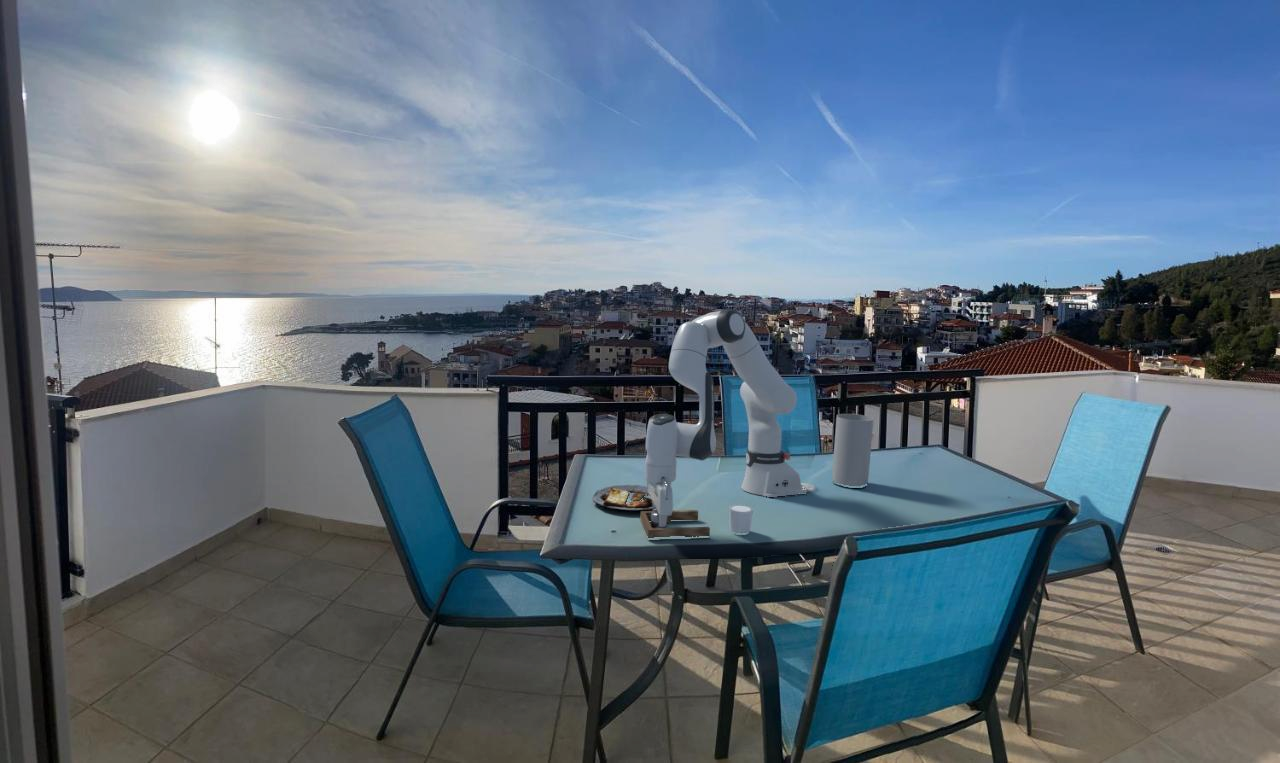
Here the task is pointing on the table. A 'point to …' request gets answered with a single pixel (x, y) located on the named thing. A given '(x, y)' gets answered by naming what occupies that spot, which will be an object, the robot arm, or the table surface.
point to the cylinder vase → (852, 449)
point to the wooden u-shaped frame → (668, 532)
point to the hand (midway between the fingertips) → (658, 519)
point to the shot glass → (740, 518)
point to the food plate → (623, 497)
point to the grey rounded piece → (656, 520)
